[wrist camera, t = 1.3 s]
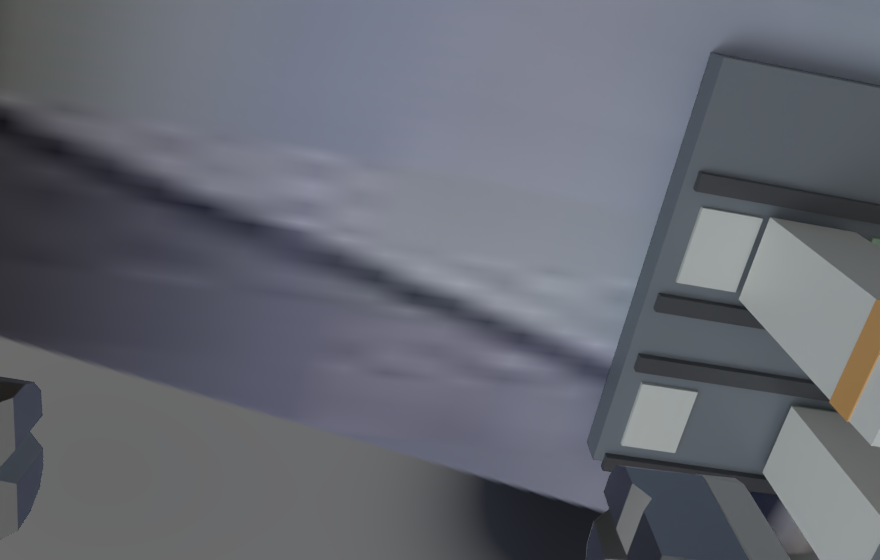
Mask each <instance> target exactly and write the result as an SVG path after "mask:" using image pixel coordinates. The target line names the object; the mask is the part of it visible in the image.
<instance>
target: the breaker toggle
mask: <svg viewBox="0 0 880 560" xmlns="http://www.w3.org/2000/svg"><path fill="white" fill-rule="evenodd" d="M739 300H740V302H741V303H742V304H743V305H744V306H745V307H746V308H747V309H748V310H749V312H750V313H751V314H752V315H753V316H754V317H755V318H756V319H757V320H758V321H759V323H760V324H761V325H762V326H763V327H764V328H765V329H766V330H767V331H768V332H769V334H770V335H771V336H772V337H773V338H774V339H775V340H776V341H777V342H778V344H779V345H780V346H781V347H782V348H783V349H784V350H785V351H786V352H787V353H788V355H789V356H790V357H791V358H792V359H793V360H794V361H795V362H796V363H797V364H798V366H799V367H800V368H801V369H802V370H803V371H804V372H805V373H806V374H807V376H808V377H809V378H810V379H811V380H812V381H813V382H814V383H815V384H816V385H817V387H818V388H819V389H820V390H821V391H822V392H823V393H824V394H825V395H826V396H827V398H828V399H829V400H830V401H829V403H830V404H831V405H832V406H833V407H834V408H835V410H836V411H837V412H838V413H839V414H840V415H841V416H842V417H843V418H844V420H845V421H846V422H850V423H851V424H852V425H853V426H854V427H855V428H856V430H857V431H858V432H859V433H860V434H861V435H862V436H863V437H864V438H865V440H866V441H867V442H868V443H869V444H870V445H871V446H876V447H880V248H879V247H877V246H876V245H874V244H873V243H871V242H870V241H868V240H867V239H865V238H864V237H862V236H861V235H859V234H858V233H856V232H851V231H846V230H840V229H834V228H829V227H823V226H817V225H812V224H806V223H800V222H795V221H789V220H784V219H778V218H772V217H770V218H769V221H768V224H767V226H766V229H765V232H764V234H763V237H762V239H761V242H760V245H759V247H758V250H757V253H756V255H755V258H754V260H753V263H752V266H751V268H750V271H749V274H748V276H747V279H746V282H745V284H744V287H743V289H742V292H741V295H740V297H739Z"/></svg>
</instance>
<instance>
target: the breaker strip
mask: <svg viewBox="0 0 880 560" xmlns="http://www.w3.org/2000/svg"><path fill="white" fill-rule="evenodd" d="M770 217H772V218H778V219H784V220H789V221H795V222H800V223H806V224H812V225H817V226H823V227H829V228H834V229H840V230H846V231H851V232H856V233H858V234H859V235H861V236H862V237H864V238H865V239H867V240H868V241H870V242H871V243H873V244H874V245H876V246H877V247H879V248H880V86H878V85H873V84H868V83H863V82H858V81H853V80H848V79H843V78H838V77H833V76H828V75H823V74H817V73H812V72H807V71H802V70H797V69H792V68H787V67H782V66H777V65H772V64H767V63H762V62H757V61H752V60H747V59H742V58H737V57H732V56H727V55H722V54H717V53H712V52H711V54H710V57H709V60H708V63H707V67H706V70H705V73H704V76H703V79H702V82H701V85H700V89H699V92H698V95H697V98H696V101H695V104H694V107H693V111H692V114H691V117H690V120H689V123H688V126H687V129H686V132H685V136H684V139H683V142H682V145H681V148H680V151H679V154H678V158H677V161H676V164H675V167H674V170H673V173H672V176H671V180H670V183H669V186H668V189H667V192H666V195H665V198H664V202H663V205H662V208H661V211H660V214H659V217H658V220H657V224H656V227H655V230H654V233H653V236H652V239H651V242H650V246H649V249H648V252H647V255H646V258H645V261H644V264H643V268H642V271H641V274H640V277H639V280H638V283H637V286H636V290H635V293H634V296H633V299H632V302H631V305H630V308H629V312H628V315H627V318H626V321H625V324H624V327H623V330H622V333H621V337H620V340H619V343H618V346H617V349H616V352H615V355H614V359H613V362H612V365H611V368H610V371H609V374H608V377H607V381H606V384H605V387H604V390H603V393H602V396H601V399H600V403H599V406H598V409H597V412H596V415H595V418H594V421H593V425H592V428H591V431H590V434H589V437H588V440H587V443H588V446H589V449H590V452H591V455H592V458H593V460H600V461H602V464H601V467H602V470H603V471H609V472H612V471H613V469H614V468H615V466H616V465H621V466H629V467H637V468H645V469H653V470H661V471H669V472H678V473H686V474H694V475H695V474H701V475H711V476H720V477H730V478H736V479H737V480H739V481H740V482H742V483H743V484H744V485H745V486H746V488H747V490H748V491H753V492H760V493H767V494H774V495H778V497H779V498H780V500H781V502H782V503H783V505H784V506H785V508H786V509H787V511H788V512H789V514H790V515H791V517H792V518H793V520H794V521H795V523H796V524H797V526H798V527H799V529H800V531H801V532H802V534H803V535H804V537H805V538H806V540H807V541H808V543H809V544H810V546H811V547H812V549H813V550H814V552H815V553H816V555H817V557H818V558H819V560H880V447H876V446H871V445H870V444H869V443H868V442H867V441H866V440H865V438H864V437H863V436H862V435H861V434H860V433H859V432H858V431H857V430H856V428H855V427H854V426H853V425H852V424H851V423H850V422H846V421H845V420H844V418H843V417H842V416H841V415H840V414H839V413H838V412H837V411H836V410H835V408H834V407H833V406H832V405H831V404H830V403H829V401H830V400H829V399H828V398H827V396H826V395H825V394H824V393H823V392H822V391H821V390H820V389H819V388H818V387H817V385H816V384H815V383H814V382H813V381H812V380H811V379H810V378H809V377H808V376H807V374H806V373H805V372H804V371H803V370H802V369H801V368H800V367H799V366H798V364H797V363H796V362H795V361H794V360H793V359H792V358H791V357H790V356H789V355H788V353H787V352H786V351H785V350H784V349H783V348H782V347H781V346H780V345H779V344H778V342H777V341H776V340H775V339H774V338H773V337H772V336H771V335H770V334H769V332H768V331H767V330H766V329H765V328H764V327H763V326H762V325H761V324H760V323H759V321H758V320H757V319H756V318H755V317H754V316H753V315H752V314H751V313H750V312H749V310H748V309H747V308H746V307H745V306H744V305H743V304H742V303H741V302H740V300H739V297H740V295H741V292H742V289H743V287H744V284H745V282H746V279H747V276H748V274H749V271H750V268H751V266H752V263H753V260H754V258H755V255H756V253H757V250H758V247H759V245H760V242H761V239H762V237H763V234H764V232H765V229H766V226H767V224H768V221H769V218H770Z"/></svg>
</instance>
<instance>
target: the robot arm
mask: <svg viewBox="0 0 880 560" xmlns="http://www.w3.org/2000/svg"><path fill="white" fill-rule="evenodd" d="M41 417H42V401H41V390H40V389H39V388H38V386H37V385H36V384H35V383H34V382H30V381H24V380H17V379H11V378H5V377H0V540H1V539H3V538H5V537H7V536H9V535H10V534H12V533H14V532H16V531H18V529H19V528H20V527H21V525H22V523H23V522H24V520H25V519H26V517H27V516H28V514H29V513H30V511H31V508H32V506H33V503H34V500H35V498H36V495H37V493H38V490H39V487H40V482H41V476H42V470H43V448H42V446H41V445H40V444H39V443H38V441H37V440H36V439H35V437H34V436H33V435H32V433H31V432H30V430H31V429H32V428H33V427H34V426H35V424H36V423H37V422H38V420H39V419H40V418H41ZM604 495H605V498H606V501H607V504H608V507H609V510H608V511H606V512H605V513H604V514H602V515H601V516H600V517H598V518H597V519H596V520H594V522H593V525H592V529H591V532H590V536H589V539H588V543H587V552H586V560H791V559H790V557H789V555H788V554H787V552H786V551H785V549H784V547H783V546H782V544H781V543H780V541H779V539H778V538H777V536H776V535H775V533H774V531H773V530H772V528H771V527H770V525H769V523H768V522H767V520H766V518H765V517H764V515H763V514H762V512H761V510H760V509H759V507H758V506H757V504H756V502H755V501H754V499H753V498H752V496H751V494H750V493H749V491H748V490H747V488H746V486H745V485H744V484H743V483H742V482H740V481H739V480H737V479H736V478H730V477H720V476H711V475H701V474H695V475H694V474H686V473H678V472H669V471H661V470H653V469H645V468H637V467H629V466H621V465H616V466H615V468H614V469H613V471H612V472H611V474H610V475H609V478H608V481H607V484H606V486H605V489H604Z"/></svg>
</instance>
